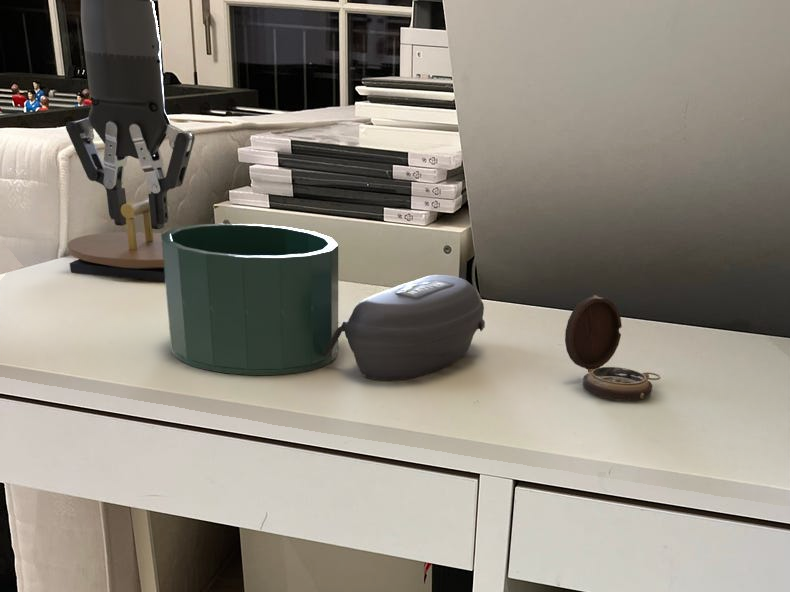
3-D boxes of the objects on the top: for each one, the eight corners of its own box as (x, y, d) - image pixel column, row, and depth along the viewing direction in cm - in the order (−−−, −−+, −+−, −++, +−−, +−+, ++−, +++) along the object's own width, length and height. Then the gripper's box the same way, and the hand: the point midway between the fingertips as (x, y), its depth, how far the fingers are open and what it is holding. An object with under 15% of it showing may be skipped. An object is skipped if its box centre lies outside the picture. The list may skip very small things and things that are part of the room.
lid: (43, 264, 106) (34, 203, 103) (103, 239, 119) (97, 184, 116) (187, 278, 105) (182, 217, 102) (231, 251, 119) (227, 197, 116)
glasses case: (427, 387, 80) (399, 290, 77) (326, 407, 85) (297, 317, 82) (515, 339, 94) (494, 255, 91) (423, 358, 99) (401, 280, 96)
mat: (70, 272, 108) (69, 263, 107) (114, 252, 118) (113, 243, 118) (177, 283, 108) (176, 273, 107) (211, 262, 118) (211, 253, 117)
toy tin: (146, 365, 82) (134, 246, 77) (202, 322, 95) (195, 218, 90) (316, 382, 82) (315, 264, 77) (350, 337, 94) (351, 233, 89)
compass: (615, 407, 83) (629, 319, 79) (555, 379, 88) (565, 296, 84) (681, 394, 87) (696, 311, 83) (620, 369, 92) (632, 290, 88)
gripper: (38, 43, 98) (64, 225, 108) (176, 56, 98) (190, 238, 107) (71, 43, 105) (92, 215, 114) (201, 55, 104) (212, 227, 114)
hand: (140, 225), depth 111 cm, fingers open, 3 cm apart
